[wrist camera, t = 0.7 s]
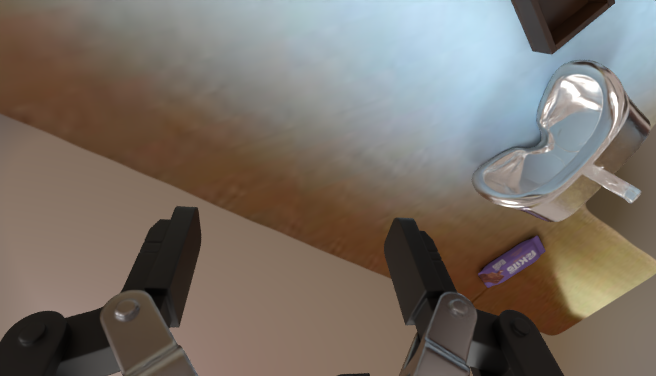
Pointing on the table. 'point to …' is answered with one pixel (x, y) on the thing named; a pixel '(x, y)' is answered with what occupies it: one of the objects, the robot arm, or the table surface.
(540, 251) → the snack package
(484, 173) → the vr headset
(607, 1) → the divided box
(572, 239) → the table surface
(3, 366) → the robot arm
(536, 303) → the table surface
